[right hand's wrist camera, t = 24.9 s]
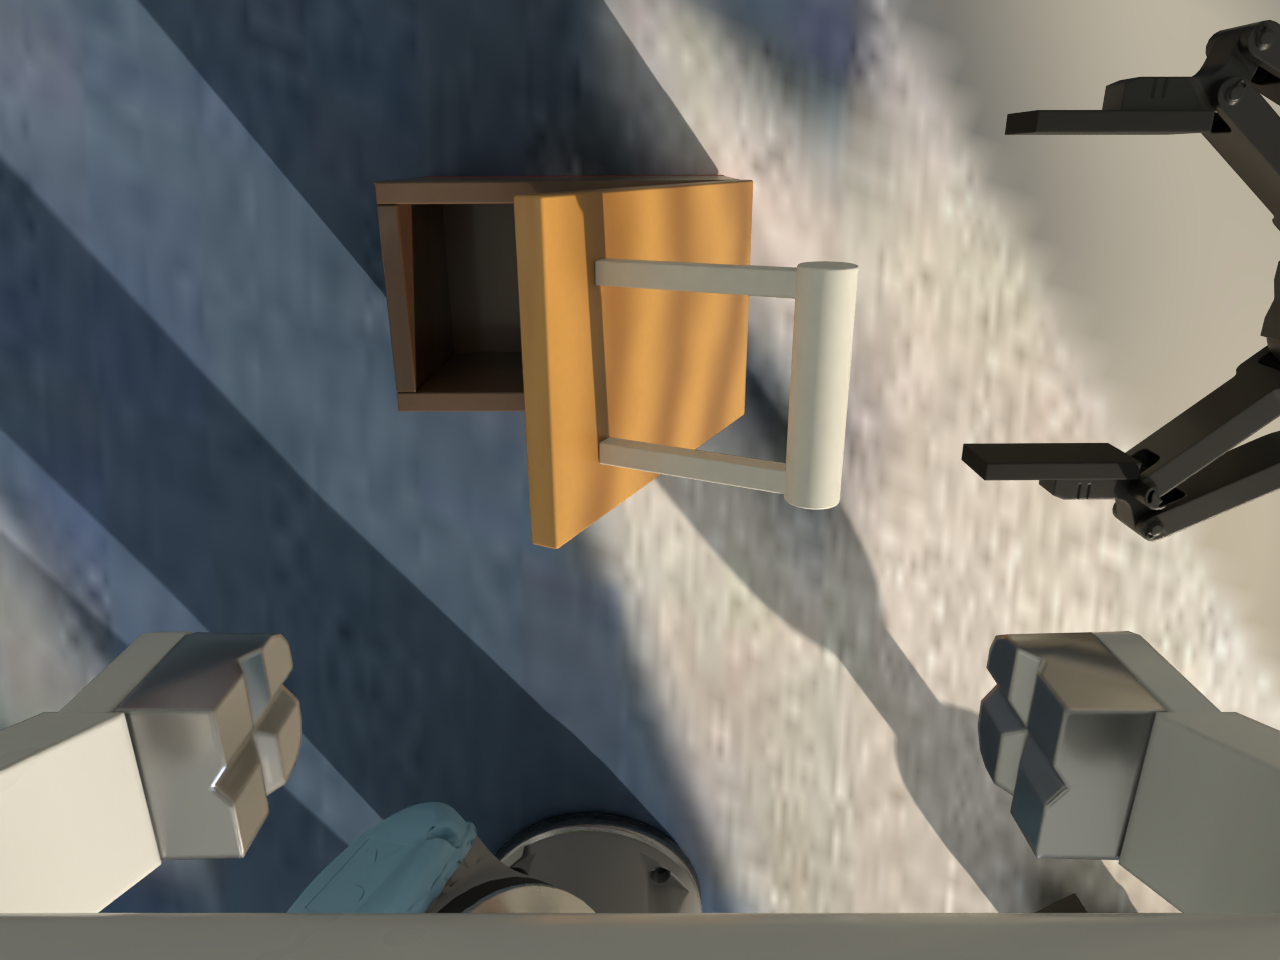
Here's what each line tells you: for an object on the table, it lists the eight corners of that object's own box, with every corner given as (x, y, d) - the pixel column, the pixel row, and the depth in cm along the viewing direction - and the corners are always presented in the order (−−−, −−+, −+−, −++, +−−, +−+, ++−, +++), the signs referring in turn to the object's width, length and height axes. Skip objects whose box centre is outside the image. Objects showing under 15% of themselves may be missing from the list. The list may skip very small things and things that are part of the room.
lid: (530, 544, 25) (804, 604, 22) (511, 194, 22) (831, 200, 19) (725, 411, 38) (916, 436, 35) (732, 179, 35) (944, 181, 32)
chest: (442, 365, 48) (398, 412, 39) (425, 176, 44) (373, 181, 35) (716, 363, 47) (734, 410, 39) (721, 175, 44) (742, 179, 35)
